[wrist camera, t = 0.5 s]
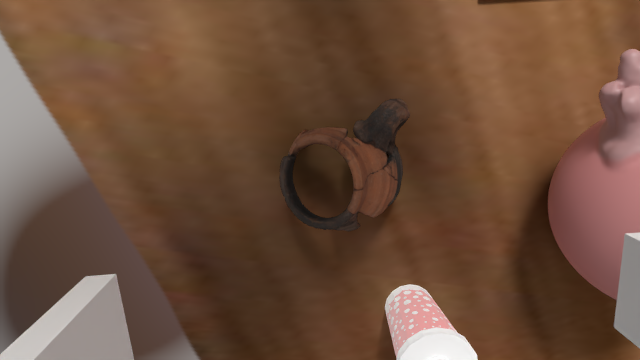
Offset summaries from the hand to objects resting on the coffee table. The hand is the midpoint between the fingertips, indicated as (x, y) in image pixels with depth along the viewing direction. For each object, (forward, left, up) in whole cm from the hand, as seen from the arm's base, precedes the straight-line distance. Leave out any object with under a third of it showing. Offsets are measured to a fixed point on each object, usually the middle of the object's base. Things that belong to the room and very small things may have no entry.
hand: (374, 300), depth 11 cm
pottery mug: (+1, +2, -26) cm, 26 cm away
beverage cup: (+16, +7, -26) cm, 31 cm away
